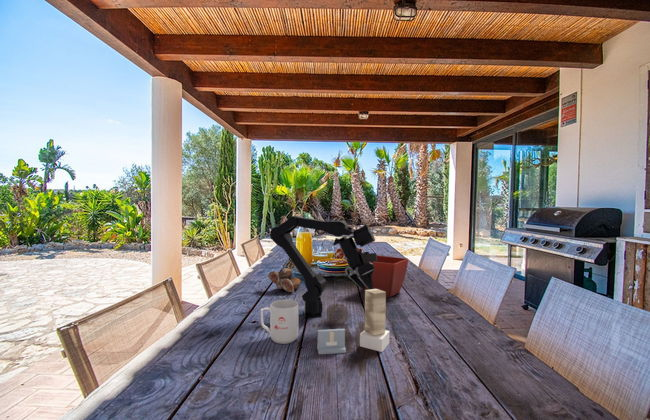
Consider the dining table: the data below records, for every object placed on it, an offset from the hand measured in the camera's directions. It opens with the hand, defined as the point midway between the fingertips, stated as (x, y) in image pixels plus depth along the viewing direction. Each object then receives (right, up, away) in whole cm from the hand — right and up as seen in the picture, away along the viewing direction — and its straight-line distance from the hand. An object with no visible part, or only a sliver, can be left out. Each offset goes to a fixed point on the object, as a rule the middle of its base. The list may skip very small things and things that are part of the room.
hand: (368, 290), depth 112 cm
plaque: (-14, -11, -23) cm, 30 cm away
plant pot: (+13, -11, +37) cm, 41 cm away
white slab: (-1, -12, -19) cm, 22 cm away
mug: (-31, -11, -16) cm, 36 cm away
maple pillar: (-1, -8, -19) cm, 20 cm away
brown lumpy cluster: (-35, -11, +40) cm, 54 cm away
